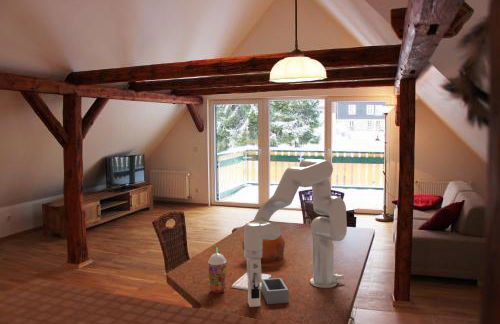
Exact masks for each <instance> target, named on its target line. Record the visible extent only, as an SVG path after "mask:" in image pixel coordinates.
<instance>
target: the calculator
mask: <svg viewBox="0 0 500 324" xmlns="http://www.w3.org/2000/svg"><path fill="white" fill-rule="evenodd" d="M261 276H262V279H272V275H271V274H269V273H261ZM231 289H237V290H238V289H239V290H245V291H248V276H247V271H245V273H244V274H243V275H242V276H240V277H239V278H238V279H237V280H236V281H235V282H234V283H233V284H232V285H231ZM260 290H262V283H261V282H260Z"/></svg>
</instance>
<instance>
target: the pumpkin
mask: <svg viewBox="0 0 500 324" xmlns="http://www.w3.org/2000/svg"><path fill="white" fill-rule="evenodd" d="M241 244H242V250H243V251H244V240H242V243H241ZM285 245H286V242H285V239H284V236H283V235H282V234H281V235H280V236H279V237H278V238H277V239H274V240H262V258H260V260H261V267H265V268H267V267H268V268H269V267H276V266H281V265H283V264H285V263H286V262H285V261H287V259H286V257H285V255H284V252H285Z"/></svg>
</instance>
